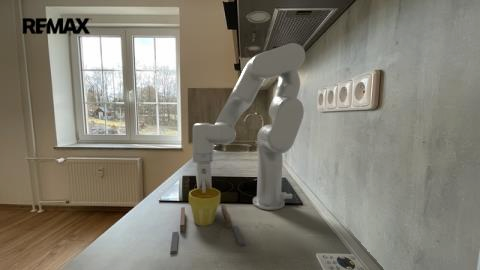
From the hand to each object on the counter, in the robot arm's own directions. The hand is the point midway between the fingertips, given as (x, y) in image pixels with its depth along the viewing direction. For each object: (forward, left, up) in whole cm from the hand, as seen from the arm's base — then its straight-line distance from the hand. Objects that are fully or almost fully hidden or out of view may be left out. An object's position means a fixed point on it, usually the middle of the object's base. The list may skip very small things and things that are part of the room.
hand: (202, 204), depth 82 cm
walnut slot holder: (0, +9, -1) cm, 9 cm away
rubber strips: (0, +20, -1) cm, 20 cm away
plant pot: (0, +9, -2) cm, 10 cm away
